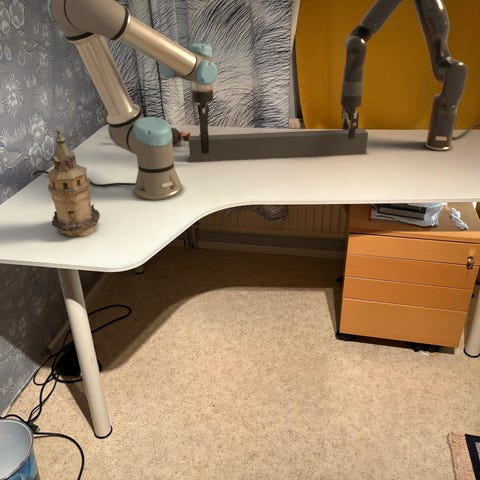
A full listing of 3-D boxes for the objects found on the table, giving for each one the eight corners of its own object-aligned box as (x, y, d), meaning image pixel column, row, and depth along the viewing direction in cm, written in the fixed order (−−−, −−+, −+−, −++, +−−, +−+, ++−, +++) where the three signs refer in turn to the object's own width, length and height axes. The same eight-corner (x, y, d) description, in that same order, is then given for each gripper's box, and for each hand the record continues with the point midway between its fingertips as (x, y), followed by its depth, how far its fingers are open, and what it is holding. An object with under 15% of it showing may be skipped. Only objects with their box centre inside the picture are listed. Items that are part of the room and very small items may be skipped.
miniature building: (80, 214, 164) (63, 117, 149) (111, 225, 157) (96, 125, 142) (44, 231, 154) (22, 130, 140) (75, 244, 147) (55, 139, 133)
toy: (131, 119, 231) (198, 119, 225) (133, 133, 234) (199, 134, 228) (106, 139, 209) (180, 139, 203) (109, 154, 212) (182, 155, 206)
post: (190, 162, 201) (188, 140, 197) (189, 157, 205) (188, 136, 201) (365, 154, 206) (368, 132, 202) (362, 149, 210) (364, 128, 206)
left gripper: (214, 98, 180) (216, 158, 190) (211, 81, 202) (213, 136, 212) (192, 98, 180) (195, 158, 190) (191, 82, 201) (194, 136, 212)
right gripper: (367, 97, 190) (363, 140, 198) (356, 87, 203) (352, 128, 211) (346, 98, 190) (343, 141, 198) (336, 88, 202) (334, 129, 210)
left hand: (204, 147), depth 201 cm, fingers open, 13 cm apart
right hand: (348, 135), depth 204 cm, fingers open, 8 cm apart
